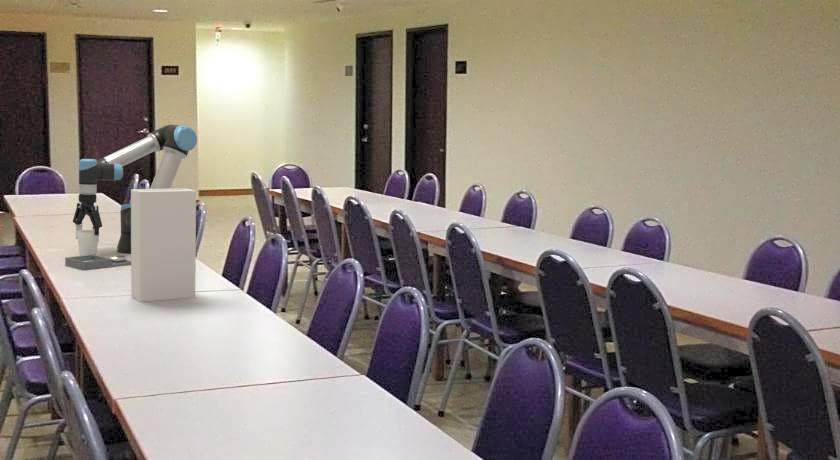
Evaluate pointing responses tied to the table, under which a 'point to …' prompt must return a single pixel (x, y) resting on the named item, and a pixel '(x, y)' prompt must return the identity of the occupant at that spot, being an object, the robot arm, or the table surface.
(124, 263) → the dark gray tray
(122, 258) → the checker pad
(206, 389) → the table surface
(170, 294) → the storage box
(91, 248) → the foam cup
